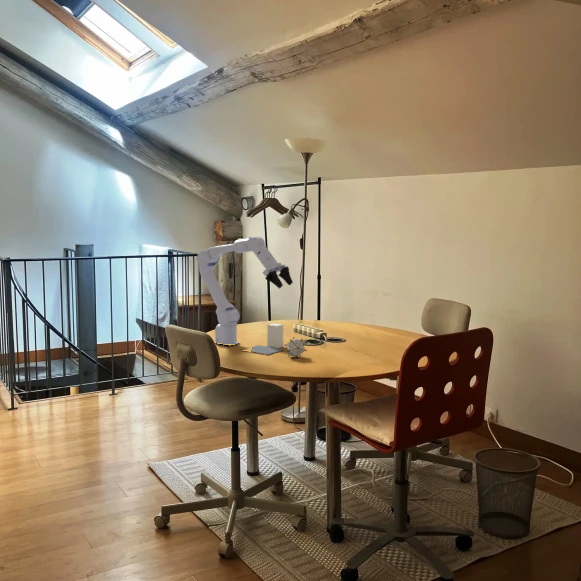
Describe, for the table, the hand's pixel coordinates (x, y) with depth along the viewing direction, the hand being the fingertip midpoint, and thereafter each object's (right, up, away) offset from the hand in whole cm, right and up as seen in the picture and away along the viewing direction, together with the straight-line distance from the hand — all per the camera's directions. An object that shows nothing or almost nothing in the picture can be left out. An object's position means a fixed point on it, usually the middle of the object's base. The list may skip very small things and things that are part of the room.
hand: (286, 285), depth 259 cm
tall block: (-5, -27, +12) cm, 30 cm away
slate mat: (-10, -28, +5) cm, 30 cm away
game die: (+4, -30, -7) cm, 31 cm away
